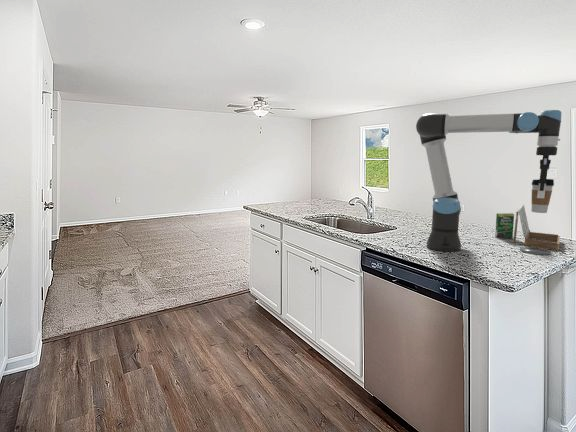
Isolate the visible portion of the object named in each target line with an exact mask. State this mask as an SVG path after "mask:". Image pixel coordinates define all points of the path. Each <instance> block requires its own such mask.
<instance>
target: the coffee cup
mask: <svg viewBox="0 0 576 432" xmlns="http://www.w3.org/2000/svg"><path fill="white" fill-rule="evenodd" d="M539 180H540V178H538V179H532V181H531V186H532V187H531V210H530V211H531V212H532V213H535V214H537V213H538V214H547V213H548V209H549V205H550V202H551V197H552V195H553V187H554V186H555V183H554V181H555V179H554V178H553V179H552V178H546V180H547V182H546V189H545V197H544V198H537V193H538V185H539V183H537V181H539Z"/></svg>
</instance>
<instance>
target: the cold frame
mask: <svg viewBox="0 0 576 432" xmlns="http://www.w3.org/2000/svg"><path fill="white" fill-rule="evenodd" d="M517 210H518V211H516V212H515V219H514V222H515V223H514V229H513V242H512V243H513V244H516V242H517V241H516V240H517V234H518V233H517V231H518V223H519V222H518V221H519V220H520V225H521V229H522V234H523V238H524V245H523V247H535V248H542V249H546V250H552V249H553V250H554V251H559V250H560V237H561V236H560V235H558V234H554V233H544V232H537V231H536V232H534V231H531V229H530V227H529V222H528V216H527V213H526V208H525V204H521V206H519V208H518V209H517ZM555 241H556V242H555Z"/></svg>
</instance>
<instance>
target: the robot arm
mask: <svg viewBox="0 0 576 432" xmlns="http://www.w3.org/2000/svg"><path fill="white" fill-rule="evenodd" d="M561 123H562V111H561V110H559V109H547V110H546V109H545V110H542V111H541V112H540V114H539V115H537V114H536V113H535V112H531V111H529V112H528V111H526V112H523V113H517V112H516V113H493V114H491V113H490V114H467V115H466V114H465V115H449V114H448V113H434V112H428V113H425V114H423V115H421V116H420V117H419V118H418V120H417V121H416V125H415V129H416V132H417V134H418V135H419V137H420V143H421V146H423V147H424V148H425V151H426V156H427V161H428V166H429V172H430V176H431V182H432V185H433V190H434V194H433V196H432V201H433V202H432V218H431V220H432V221H431V231H430V234H429V236H428V239H427V241H426V247H427V248H428V249H431V250H434V251H439V252H458V251H460V250H462V244H461V240H460V239H461V238H460V236H459V223H460V215H461V212H462V207H461V202H460V200H459V196H458V192H456V191H455V190H454V188H453V183H452V178H451V173H450V168H449V162H448V157H447V153H446V148H445V141H446V140H447V136H446V135H448V134H458V133H459V134H460V133H461V134H463V133H465V134H466V133H467V134H468V133H498V132H499V133H500V132H501V133H502V132H503V133H505V132H507V133H509V134H532V133H535V134H537V133H538V135H537V143H536V145H537V147H536V152H535V154H536V156H542V159H540V160H539V164H540V165H539V170H540V173H539V179H540V180H539V179H538V180H539V181H537V183H539V185H538V193H537V198H544V197H545V189H546V182H547V180H546V179H548V178H547V176H548V170H549V169H550V165H551V161H552V160H551V159H550V156H557V153H558V144H559V142H560V141H561V138H560V130H561Z"/></svg>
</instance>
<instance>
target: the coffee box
mask: <svg viewBox="0 0 576 432" xmlns="http://www.w3.org/2000/svg"><path fill="white" fill-rule="evenodd" d="M495 217H496V219H495V233H494V236H495V238H497V239H499V238H500V239H502V238H504V239H514V226H515V223H514V222H515V213H513V212H509V213H496V215H495Z"/></svg>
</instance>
